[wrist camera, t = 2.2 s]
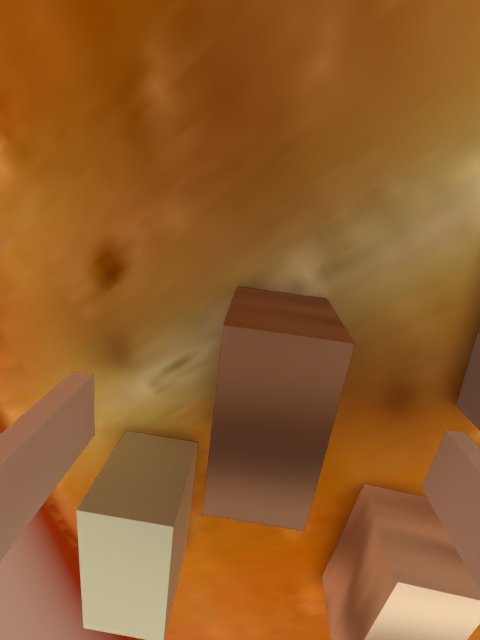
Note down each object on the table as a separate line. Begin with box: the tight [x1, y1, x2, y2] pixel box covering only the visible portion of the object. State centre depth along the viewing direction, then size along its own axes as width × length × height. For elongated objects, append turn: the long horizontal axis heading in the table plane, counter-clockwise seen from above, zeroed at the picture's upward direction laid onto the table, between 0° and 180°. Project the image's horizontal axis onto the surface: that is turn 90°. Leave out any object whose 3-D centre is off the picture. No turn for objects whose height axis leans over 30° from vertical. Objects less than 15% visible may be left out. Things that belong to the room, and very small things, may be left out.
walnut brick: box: [202, 286, 355, 531], centre depth 14 cm, size 8×4×5 cm, turn 173°
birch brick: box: [322, 484, 480, 640], centre depth 17 cm, size 8×4×5 cm, turn 169°
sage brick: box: [76, 431, 198, 640], centre depth 17 cm, size 8×4×5 cm, turn 172°
